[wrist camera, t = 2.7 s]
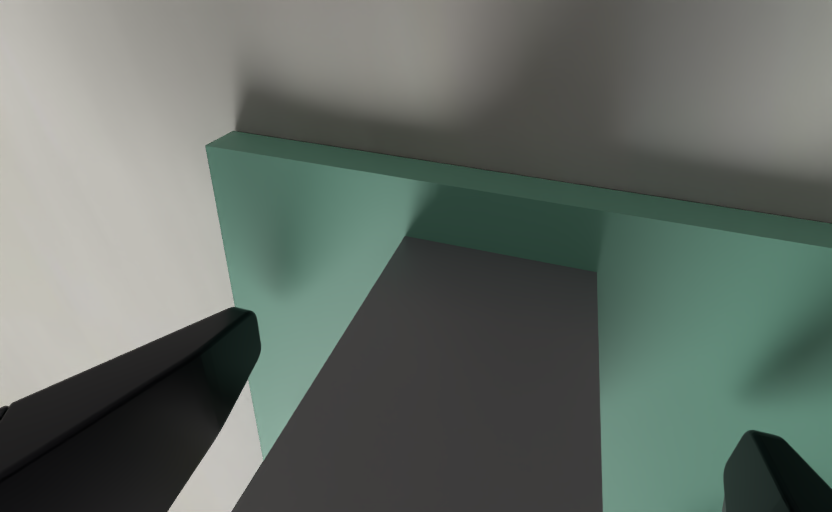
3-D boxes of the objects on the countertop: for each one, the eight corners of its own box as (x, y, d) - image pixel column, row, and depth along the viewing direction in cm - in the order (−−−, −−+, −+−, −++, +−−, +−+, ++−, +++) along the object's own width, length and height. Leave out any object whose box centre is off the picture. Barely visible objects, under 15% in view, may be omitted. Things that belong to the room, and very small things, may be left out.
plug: (597, 272, 8) (606, 662, 3) (537, 475, 10) (504, 830, 6) (404, 236, 8) (220, 528, 4) (396, 436, 11) (280, 734, 7)
